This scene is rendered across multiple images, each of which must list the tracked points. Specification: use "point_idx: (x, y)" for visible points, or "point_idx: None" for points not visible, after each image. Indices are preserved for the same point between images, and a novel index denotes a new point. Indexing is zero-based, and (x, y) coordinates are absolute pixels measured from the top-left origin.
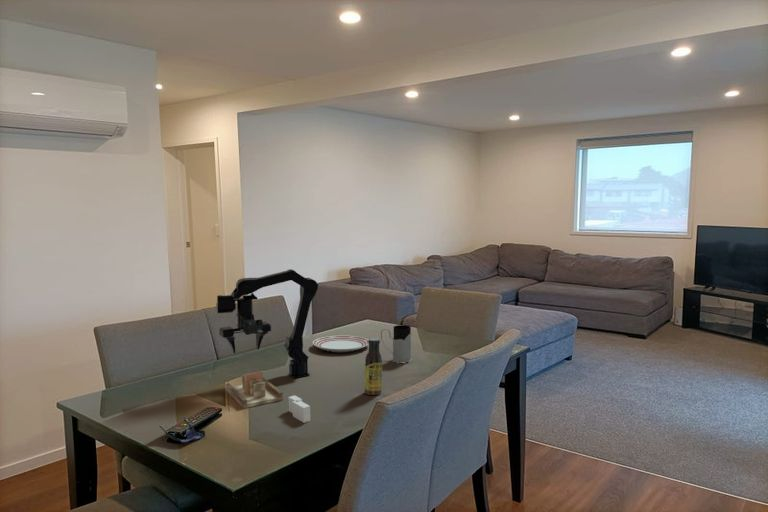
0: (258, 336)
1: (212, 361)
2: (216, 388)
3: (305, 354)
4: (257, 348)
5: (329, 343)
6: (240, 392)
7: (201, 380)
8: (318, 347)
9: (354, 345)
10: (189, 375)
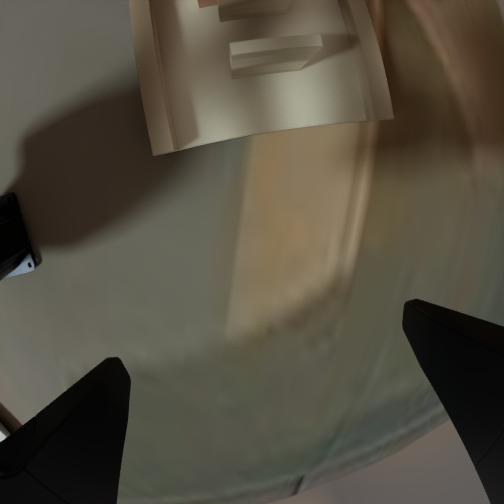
0: (51, 499)
1: (322, 468)
2: (406, 188)
3: None
4: (117, 370)
5: None
6: (316, 14)
7: None
8: (4, 431)
9: None
10: None
